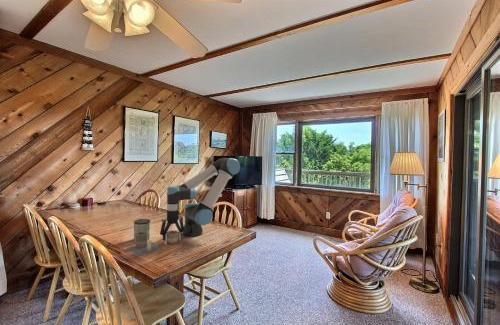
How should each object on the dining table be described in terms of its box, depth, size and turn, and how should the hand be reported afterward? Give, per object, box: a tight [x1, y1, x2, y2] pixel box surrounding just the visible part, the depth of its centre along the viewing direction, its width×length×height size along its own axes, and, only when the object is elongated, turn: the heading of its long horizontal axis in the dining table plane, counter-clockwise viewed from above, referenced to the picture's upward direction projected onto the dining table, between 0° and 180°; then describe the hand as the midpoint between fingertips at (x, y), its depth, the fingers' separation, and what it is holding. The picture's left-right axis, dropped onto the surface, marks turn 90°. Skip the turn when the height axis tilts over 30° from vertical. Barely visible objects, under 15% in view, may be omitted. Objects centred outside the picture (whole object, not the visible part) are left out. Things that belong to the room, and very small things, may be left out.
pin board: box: [126, 240, 165, 257], centre depth 158 cm, size 16×18×7 cm
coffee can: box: [133, 218, 151, 243], centre depth 175 cm, size 10×10×14 cm
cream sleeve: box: [166, 230, 179, 245], centre depth 171 cm, size 7×7×8 cm
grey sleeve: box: [134, 232, 148, 248], centre depth 163 cm, size 7×7×8 cm
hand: (172, 243), depth 171 cm, fingers open, 9 cm apart
